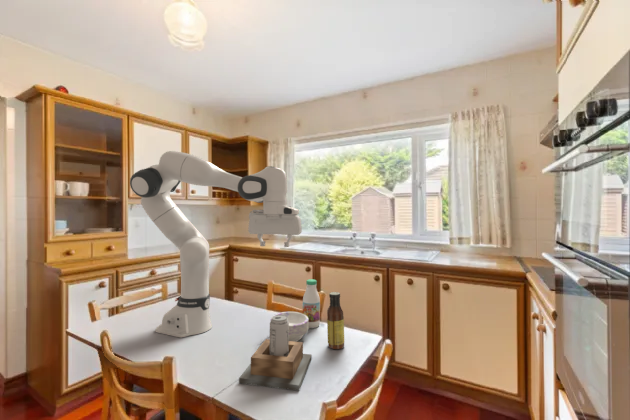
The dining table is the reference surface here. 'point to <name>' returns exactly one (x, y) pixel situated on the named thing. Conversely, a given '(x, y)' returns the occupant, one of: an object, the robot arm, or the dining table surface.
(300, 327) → the paper bowls
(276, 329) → the energy drink can
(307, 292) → the milk bottle
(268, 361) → the socket holder
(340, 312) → the sauce bottle
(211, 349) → the dining table surface
